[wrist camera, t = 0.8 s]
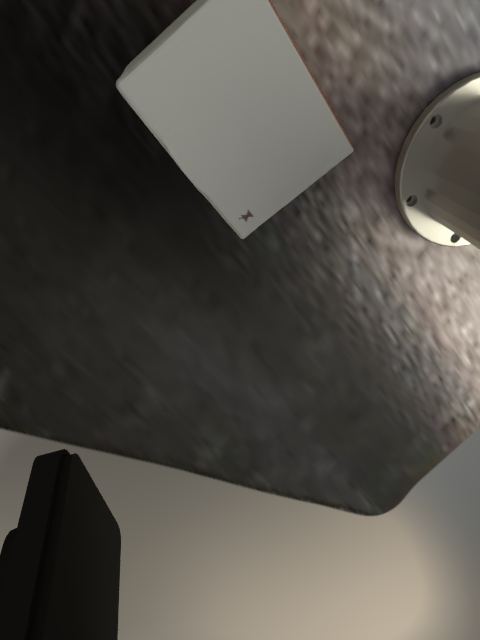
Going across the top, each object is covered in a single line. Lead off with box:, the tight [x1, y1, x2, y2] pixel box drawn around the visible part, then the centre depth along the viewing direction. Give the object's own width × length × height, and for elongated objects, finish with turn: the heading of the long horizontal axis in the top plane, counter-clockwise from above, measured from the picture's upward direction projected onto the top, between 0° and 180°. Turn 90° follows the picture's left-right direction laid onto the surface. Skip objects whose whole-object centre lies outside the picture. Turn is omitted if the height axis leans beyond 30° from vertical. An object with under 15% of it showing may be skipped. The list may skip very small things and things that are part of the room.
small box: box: [116, 0, 354, 239], centre depth 23 cm, size 8×6×13 cm
